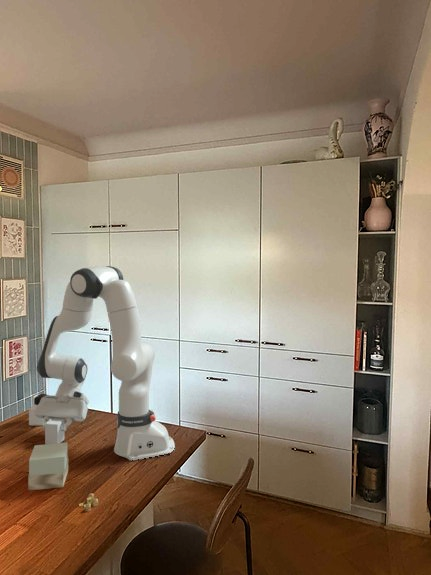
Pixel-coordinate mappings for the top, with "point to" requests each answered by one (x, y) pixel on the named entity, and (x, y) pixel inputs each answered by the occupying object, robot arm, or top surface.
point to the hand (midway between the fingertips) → (54, 429)
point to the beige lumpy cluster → (88, 505)
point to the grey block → (54, 431)
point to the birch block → (47, 480)
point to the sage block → (48, 459)
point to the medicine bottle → (32, 418)
